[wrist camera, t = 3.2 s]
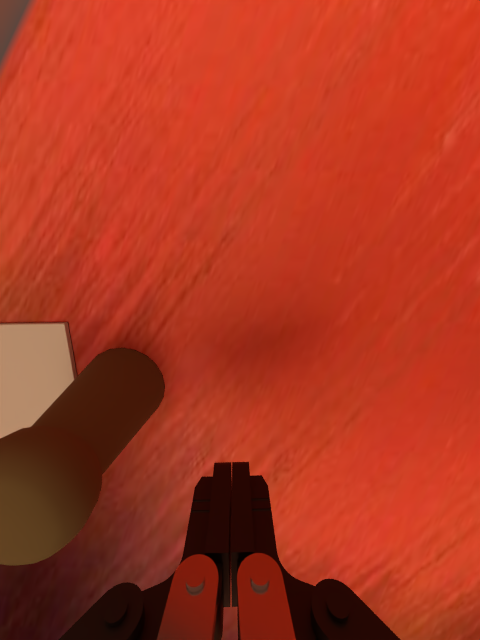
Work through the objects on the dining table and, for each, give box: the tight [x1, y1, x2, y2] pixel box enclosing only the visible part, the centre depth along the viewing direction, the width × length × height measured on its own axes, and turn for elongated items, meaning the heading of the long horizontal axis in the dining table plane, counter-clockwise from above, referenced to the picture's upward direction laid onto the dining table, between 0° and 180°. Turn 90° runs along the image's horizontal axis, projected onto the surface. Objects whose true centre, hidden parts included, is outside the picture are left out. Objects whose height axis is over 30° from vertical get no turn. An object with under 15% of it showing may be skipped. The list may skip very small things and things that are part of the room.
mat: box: [0, 322, 77, 438], centre depth 20 cm, size 8×10×1 cm
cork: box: [0, 348, 165, 565], centre depth 15 cm, size 6×6×11 cm
